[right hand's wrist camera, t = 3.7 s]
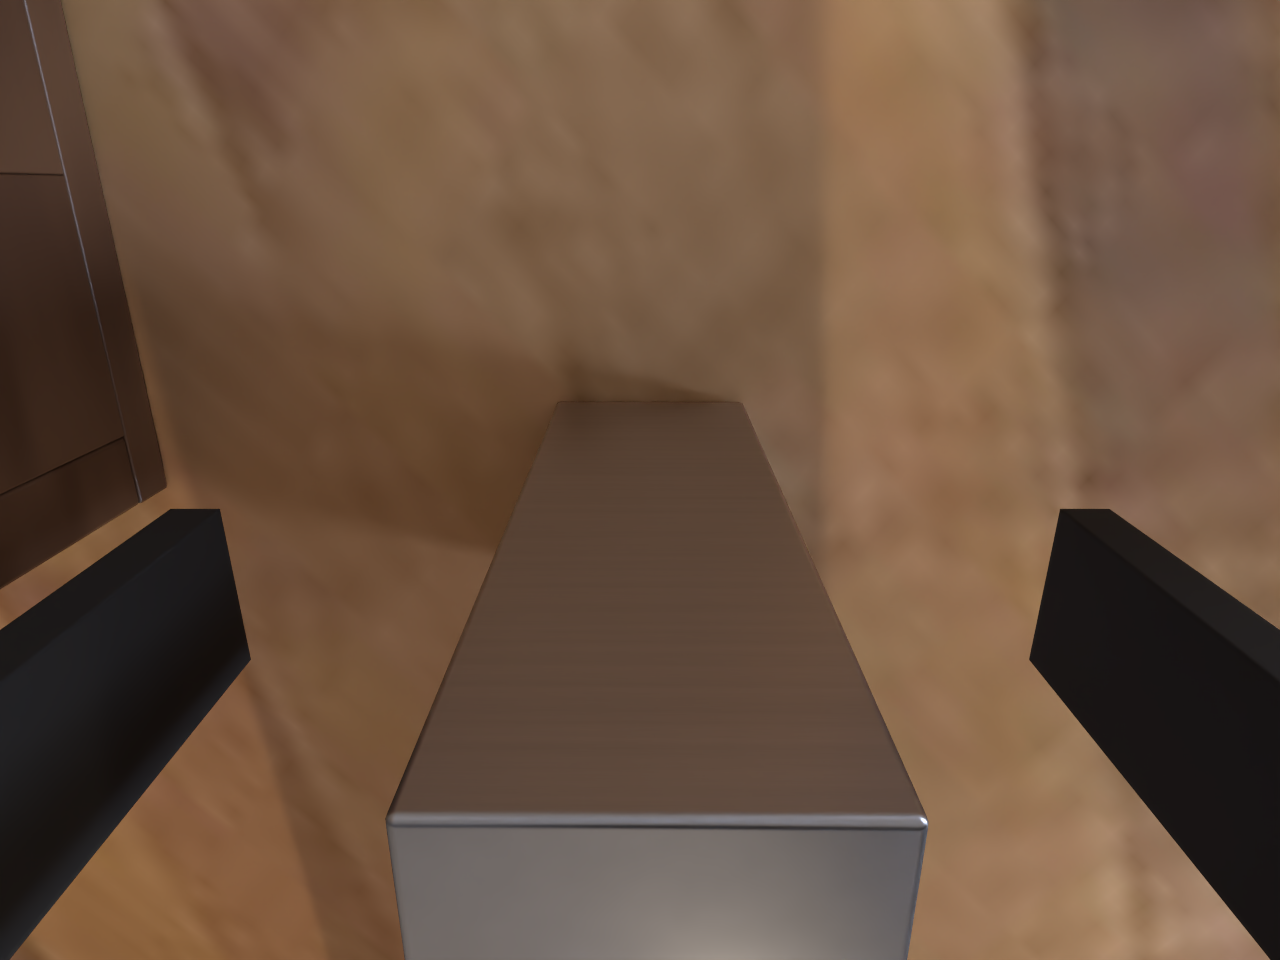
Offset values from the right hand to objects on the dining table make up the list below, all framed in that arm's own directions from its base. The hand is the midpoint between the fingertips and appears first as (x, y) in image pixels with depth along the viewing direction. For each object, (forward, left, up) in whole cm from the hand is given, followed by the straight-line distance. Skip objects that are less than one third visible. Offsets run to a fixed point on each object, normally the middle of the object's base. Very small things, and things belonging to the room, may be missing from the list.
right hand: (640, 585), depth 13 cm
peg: (0, 0, -5) cm, 5 cm away
